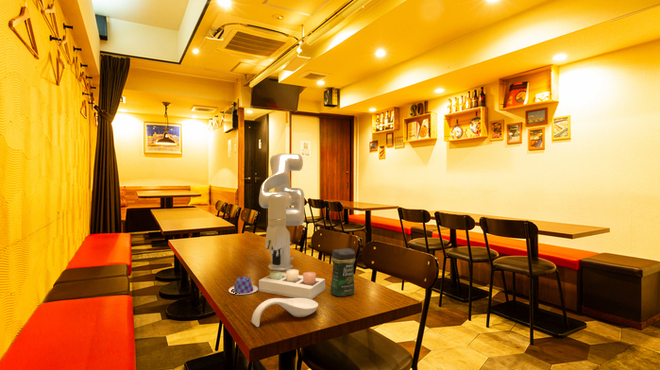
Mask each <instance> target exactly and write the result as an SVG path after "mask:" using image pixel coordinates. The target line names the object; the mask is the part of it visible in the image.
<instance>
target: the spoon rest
mask: <svg viewBox="0 0 660 370" xmlns="http://www.w3.org/2000/svg"><path fill="white" fill-rule="evenodd" d="M272 305H279V306H281V307H282V308H283V309H285V311H287V312H288V313H289V314H290V315H292V317H296V318H305V317H307V316H310V315H312V314H313V313H314V312H315V311H316V310H317V309H318V307H319V303H318V302H317V301H315V300H313V299H312V300H311V299H306V298H294V297H290V298H289V297H288V298H282V297H281V298H280V297H274V298H268V299H266V300H265V301H262V302H261V303H259V305H258V306H257V307H256V308H255V310H254V311H253V313H252V316H251V323H252V325H254V326H255V327H256V328H259V327H260V323H261V322H260V321H261V316H262V314H263V312H264V311H266V309H267V308H268V307H270V306H272Z"/></svg>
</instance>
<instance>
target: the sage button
mask: <svg viewBox="0 0 660 370" xmlns="http://www.w3.org/2000/svg"><path fill="white" fill-rule="evenodd" d="M282 273H283V272H282V271H275V270H273V271H272V272H269V275H270V279H274V280H280V279H282Z"/></svg>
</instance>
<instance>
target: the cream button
mask: <svg viewBox="0 0 660 370" xmlns="http://www.w3.org/2000/svg"><path fill="white" fill-rule="evenodd" d="M299 272H300V270H299V269H295V268H292V269H289V270H285V273H286V282H292V283H296V282H298V281H299V275H300V274H299Z"/></svg>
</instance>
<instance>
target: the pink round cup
mask: <svg viewBox="0 0 660 370" xmlns="http://www.w3.org/2000/svg"><path fill="white" fill-rule="evenodd" d="M302 276H303V284H304V285H311V286H313V285H315V284H316V278H317V277H316V276H317V273H316V272H315V271H304V272H303V273H302Z"/></svg>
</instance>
